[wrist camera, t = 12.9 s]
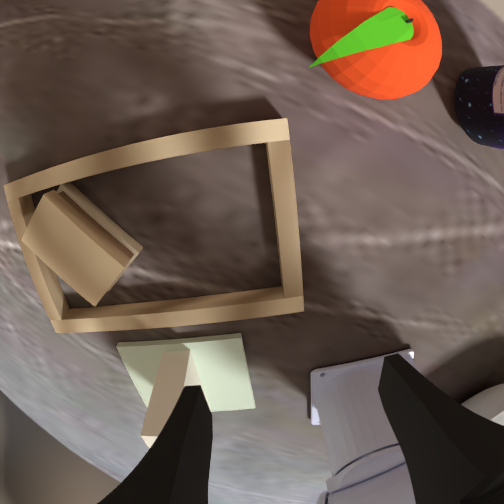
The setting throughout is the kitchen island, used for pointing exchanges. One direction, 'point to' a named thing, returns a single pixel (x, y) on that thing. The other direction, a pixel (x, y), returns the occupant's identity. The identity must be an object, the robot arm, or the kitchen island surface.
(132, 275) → the kitchen island surface
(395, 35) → the clementine
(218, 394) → the sage mat
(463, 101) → the beverage can
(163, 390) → the cream rectangular block
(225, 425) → the kitchen island surface
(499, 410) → the serving bowl
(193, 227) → the kitchen island surface
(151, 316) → the wooden rectangular frame
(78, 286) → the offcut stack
